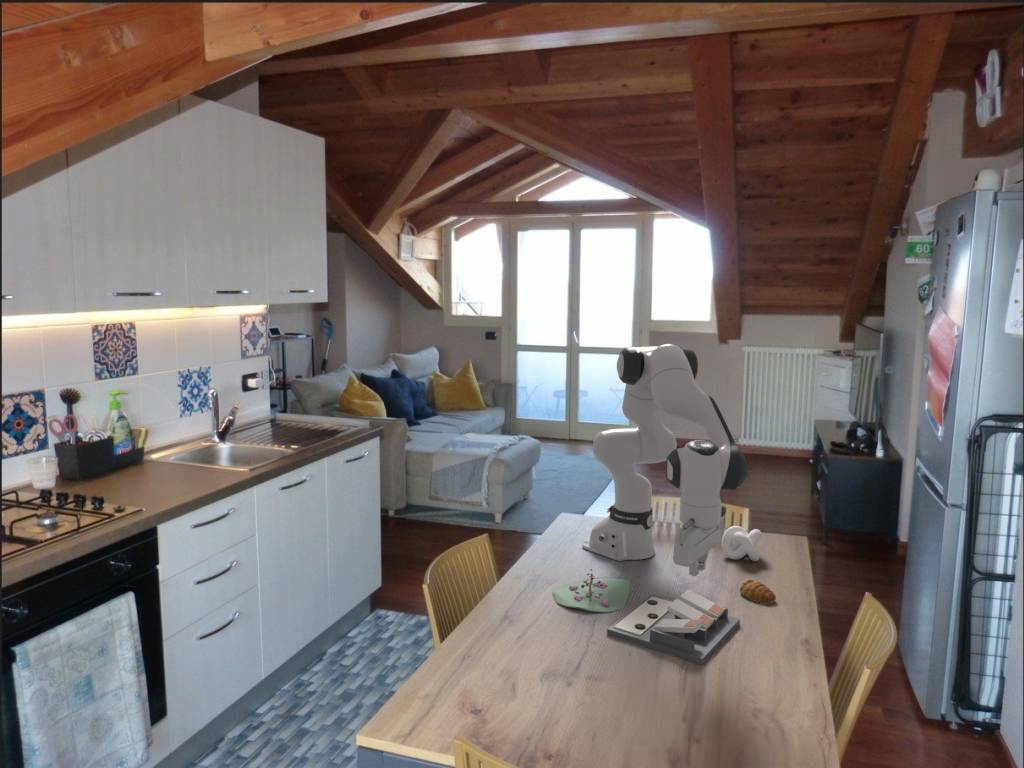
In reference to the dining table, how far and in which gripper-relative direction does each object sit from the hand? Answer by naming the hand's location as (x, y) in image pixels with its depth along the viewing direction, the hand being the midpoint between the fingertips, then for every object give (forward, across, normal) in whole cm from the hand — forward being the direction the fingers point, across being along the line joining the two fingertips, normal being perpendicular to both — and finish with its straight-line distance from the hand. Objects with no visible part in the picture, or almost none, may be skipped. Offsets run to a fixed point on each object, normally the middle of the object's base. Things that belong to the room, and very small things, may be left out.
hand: (697, 572), depth 176 cm
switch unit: (+19, +7, +8) cm, 22 cm away
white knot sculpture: (+19, +62, +10) cm, 66 cm away
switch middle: (+14, +7, +4) cm, 16 cm away
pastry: (+20, +38, -2) cm, 43 cm away
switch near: (+14, 0, +4) cm, 15 cm away
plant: (+20, +14, +34) cm, 42 cm away
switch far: (+14, +14, +4) cm, 20 cm away
